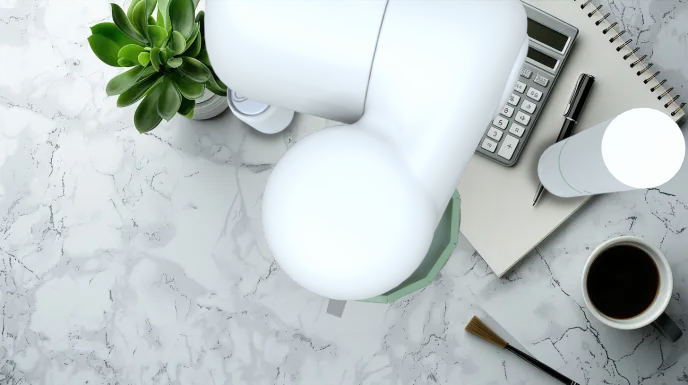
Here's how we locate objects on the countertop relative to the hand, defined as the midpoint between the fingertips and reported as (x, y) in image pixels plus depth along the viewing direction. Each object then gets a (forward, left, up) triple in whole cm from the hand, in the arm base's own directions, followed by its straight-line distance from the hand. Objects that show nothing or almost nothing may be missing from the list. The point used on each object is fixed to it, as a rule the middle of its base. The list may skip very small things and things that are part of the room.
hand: (372, 214), depth 54 cm
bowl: (0, 0, -3) cm, 3 cm away
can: (+7, -19, -27) cm, 34 cm away
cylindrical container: (-24, +5, -27) cm, 36 cm away
